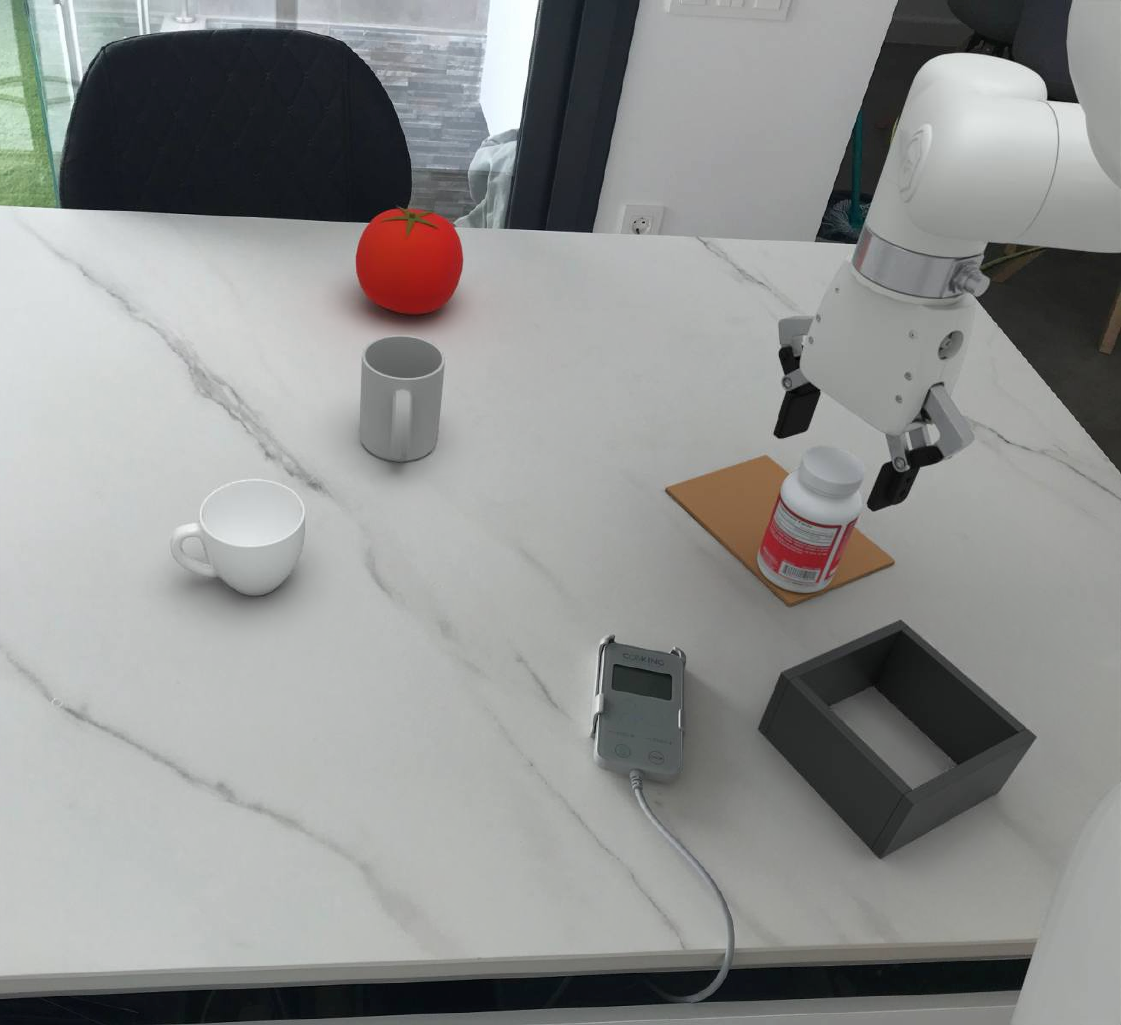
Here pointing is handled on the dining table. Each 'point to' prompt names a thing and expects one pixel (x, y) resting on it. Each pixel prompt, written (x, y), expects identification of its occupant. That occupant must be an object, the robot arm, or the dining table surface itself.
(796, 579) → the pill bottle
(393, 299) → the tomato
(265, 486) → the cup
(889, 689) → the bin
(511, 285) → the dining table surface
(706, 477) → the cork mat
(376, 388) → the cup
